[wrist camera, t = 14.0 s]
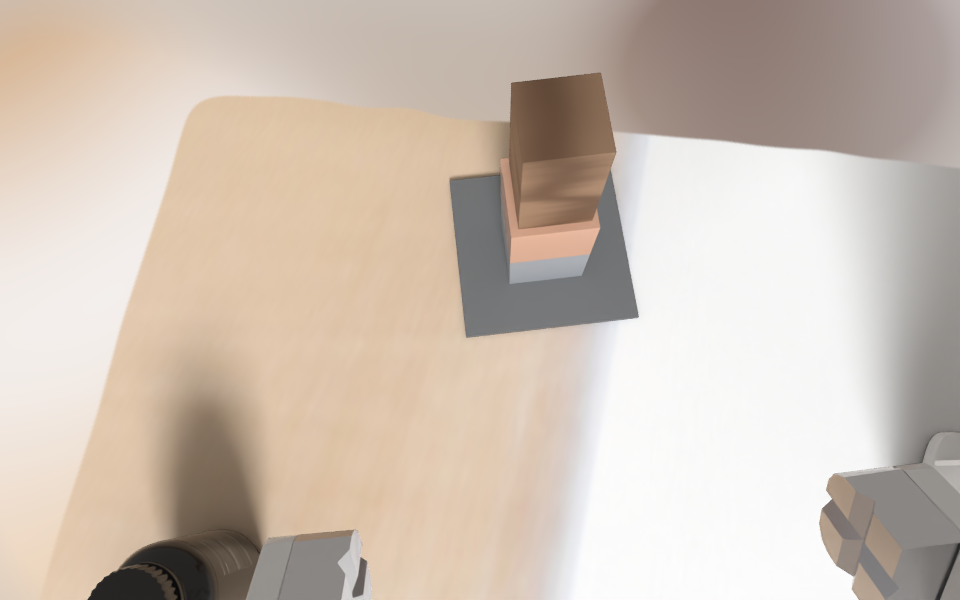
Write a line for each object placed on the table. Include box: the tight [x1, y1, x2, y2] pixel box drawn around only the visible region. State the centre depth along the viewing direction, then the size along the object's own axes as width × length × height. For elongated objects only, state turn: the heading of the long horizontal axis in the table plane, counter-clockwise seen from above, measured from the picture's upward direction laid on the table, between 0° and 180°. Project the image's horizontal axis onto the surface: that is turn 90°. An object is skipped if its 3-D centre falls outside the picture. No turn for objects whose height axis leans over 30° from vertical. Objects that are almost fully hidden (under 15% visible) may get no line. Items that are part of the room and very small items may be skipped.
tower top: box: [501, 158, 600, 263], centre depth 44 cm, size 6×6×5 cm
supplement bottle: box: [88, 530, 260, 600], centre depth 40 cm, size 7×7×12 cm
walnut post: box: [509, 73, 616, 229], centre depth 38 cm, size 5×5×9 cm
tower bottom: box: [501, 197, 590, 284], centre depth 49 cm, size 6×6×5 cm
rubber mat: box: [450, 169, 639, 338], centre depth 52 cm, size 14×14×1 cm
